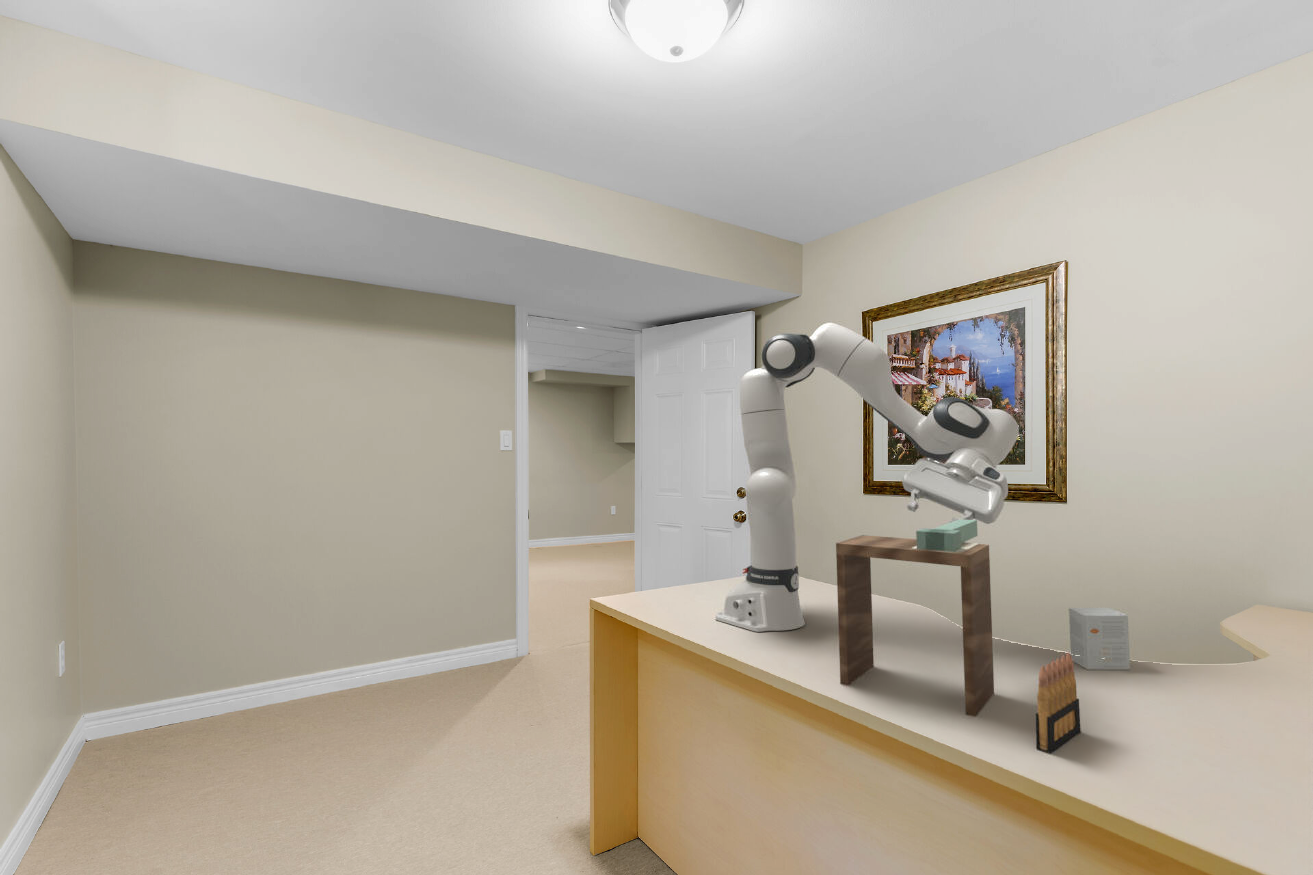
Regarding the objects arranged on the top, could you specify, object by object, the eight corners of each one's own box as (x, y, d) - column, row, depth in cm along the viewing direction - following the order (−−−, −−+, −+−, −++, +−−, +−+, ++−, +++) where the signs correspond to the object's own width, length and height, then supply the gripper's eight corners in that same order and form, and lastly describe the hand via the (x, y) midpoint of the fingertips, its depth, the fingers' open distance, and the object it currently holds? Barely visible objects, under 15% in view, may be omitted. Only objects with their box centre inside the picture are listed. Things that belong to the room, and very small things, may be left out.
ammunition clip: (1050, 754, 87) (1047, 668, 87) (1035, 749, 89) (1033, 665, 89) (1081, 732, 93) (1078, 652, 93) (1067, 727, 95) (1064, 649, 95)
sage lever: (916, 548, 106) (916, 530, 106) (952, 534, 121) (951, 518, 121) (954, 551, 102) (953, 533, 102) (986, 536, 117) (985, 520, 117)
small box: (1112, 660, 123) (1110, 607, 123) (1131, 670, 117) (1129, 614, 117) (1069, 659, 124) (1067, 607, 124) (1086, 670, 118) (1084, 614, 118)
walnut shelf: (840, 683, 114) (835, 542, 115) (866, 665, 123) (862, 534, 124) (975, 716, 99) (970, 553, 100) (994, 693, 108) (989, 543, 109)
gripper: (919, 446, 138) (884, 490, 135) (1013, 479, 123) (976, 529, 120) (924, 464, 142) (889, 507, 139) (1015, 498, 127) (979, 547, 124)
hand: (931, 518), depth 129 cm, fingers open, 8 cm apart
